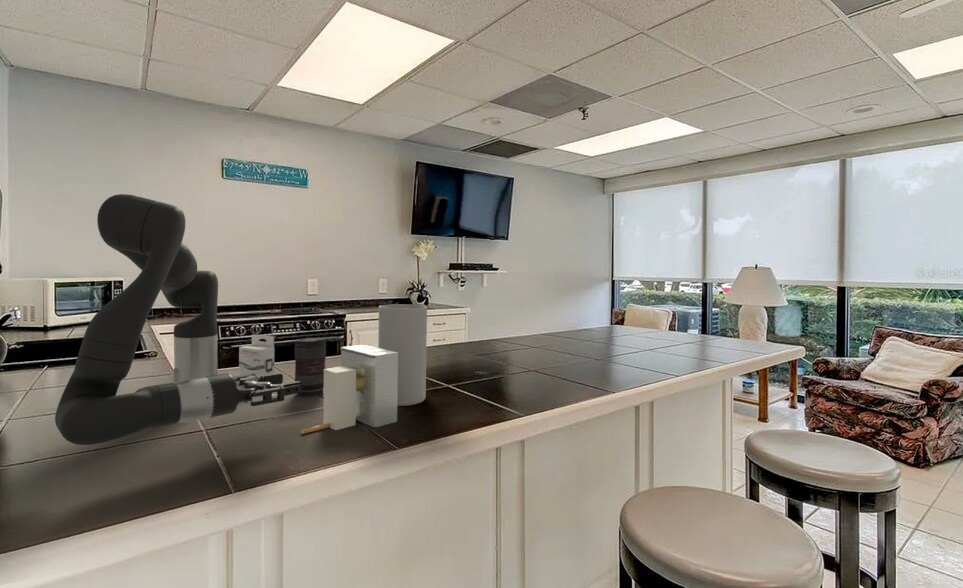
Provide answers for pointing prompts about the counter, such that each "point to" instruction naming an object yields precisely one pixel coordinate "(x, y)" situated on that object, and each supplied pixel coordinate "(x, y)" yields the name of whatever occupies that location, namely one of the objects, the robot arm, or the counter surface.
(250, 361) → the ink box
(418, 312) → the cylinder vase
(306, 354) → the dark lidded canister
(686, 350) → the counter surface
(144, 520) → the counter surface
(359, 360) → the block
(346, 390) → the plug
